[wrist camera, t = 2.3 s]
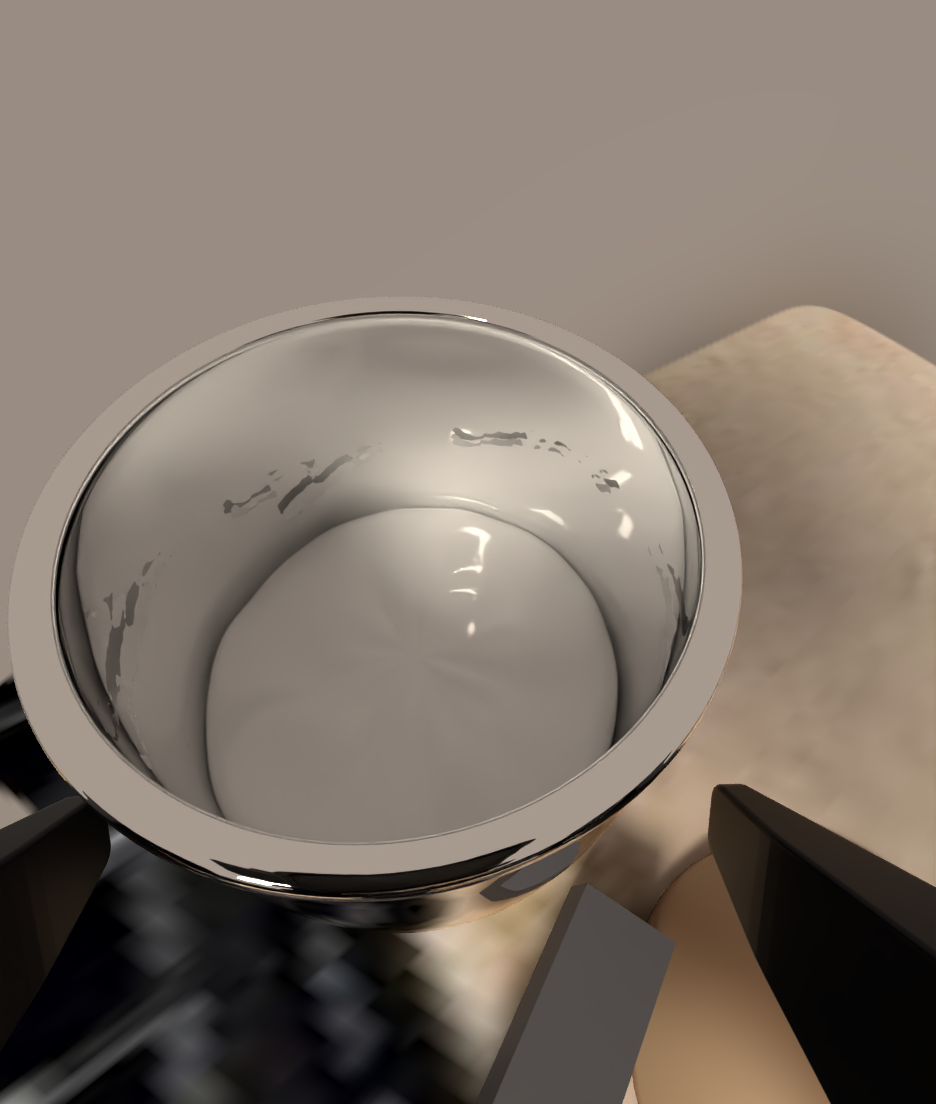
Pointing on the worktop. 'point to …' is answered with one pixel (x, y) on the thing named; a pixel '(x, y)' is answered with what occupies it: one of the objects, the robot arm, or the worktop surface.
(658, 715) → the silver metal cup
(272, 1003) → the worktop surface
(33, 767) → the worktop surface
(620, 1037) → the long grey square rod
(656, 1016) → the coaster
